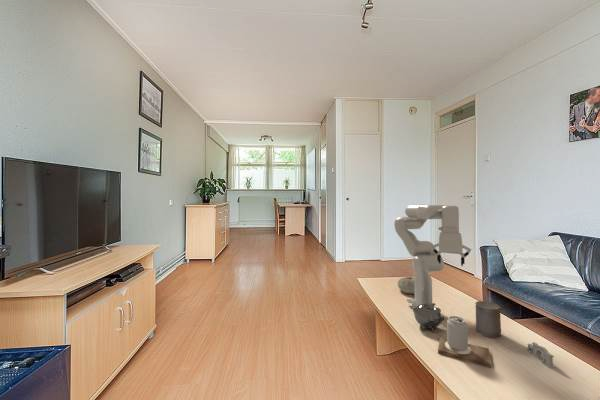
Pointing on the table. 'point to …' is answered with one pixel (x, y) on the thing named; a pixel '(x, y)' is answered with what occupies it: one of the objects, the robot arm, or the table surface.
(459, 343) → the can
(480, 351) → the board
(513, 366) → the table surface
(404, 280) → the decorative shell
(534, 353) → the lattice window wall
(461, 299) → the table surface
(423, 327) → the piggy bank
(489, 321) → the pillar candle
